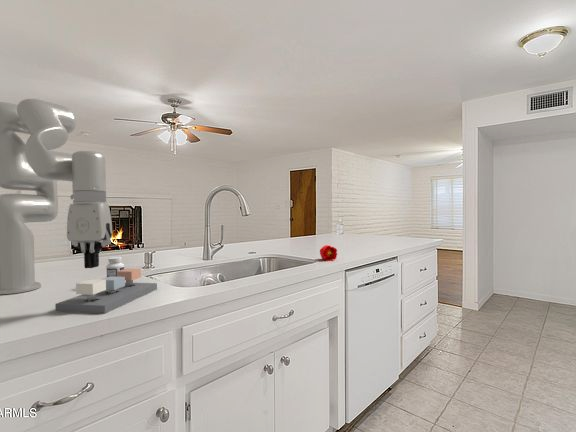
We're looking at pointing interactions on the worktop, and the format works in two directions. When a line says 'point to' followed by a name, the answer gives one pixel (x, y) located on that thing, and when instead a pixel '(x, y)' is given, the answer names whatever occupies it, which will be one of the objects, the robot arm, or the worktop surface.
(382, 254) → the worktop surface
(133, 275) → the terracotta key
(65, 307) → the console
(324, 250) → the flower
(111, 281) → the slate key
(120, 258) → the pill bottle
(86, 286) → the ivory key
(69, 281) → the worktop surface
